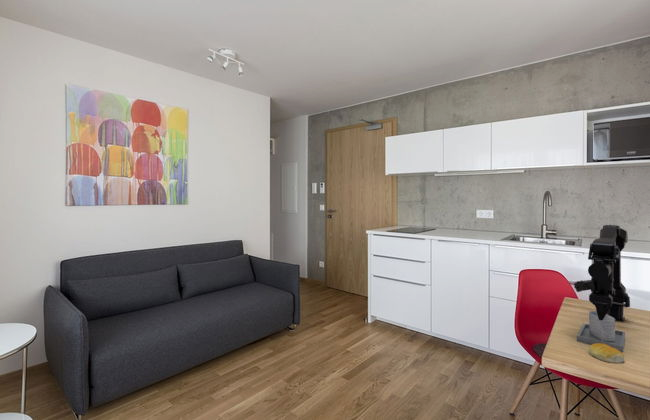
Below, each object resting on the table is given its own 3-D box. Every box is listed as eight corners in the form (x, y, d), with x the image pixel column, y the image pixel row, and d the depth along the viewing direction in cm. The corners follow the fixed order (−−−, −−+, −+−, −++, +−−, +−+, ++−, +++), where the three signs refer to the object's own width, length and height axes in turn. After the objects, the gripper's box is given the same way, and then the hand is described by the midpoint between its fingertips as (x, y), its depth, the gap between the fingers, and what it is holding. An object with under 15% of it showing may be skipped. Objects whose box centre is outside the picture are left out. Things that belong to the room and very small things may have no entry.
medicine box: (615, 342, 118) (615, 318, 118) (601, 341, 119) (601, 317, 119) (601, 333, 126) (602, 311, 125) (588, 332, 127) (588, 310, 126)
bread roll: (605, 351, 113) (605, 339, 113) (629, 363, 104) (630, 351, 104) (581, 351, 113) (582, 339, 113) (604, 364, 104) (604, 351, 104)
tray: (583, 328, 133) (583, 323, 133) (625, 337, 124) (625, 332, 124) (576, 341, 120) (576, 335, 120) (623, 352, 112) (623, 346, 112)
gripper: (579, 268, 134) (578, 306, 134) (572, 275, 121) (571, 317, 121) (615, 272, 126) (614, 312, 127) (612, 280, 113) (611, 325, 113)
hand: (601, 316), depth 122 cm, fingers open, 9 cm apart
